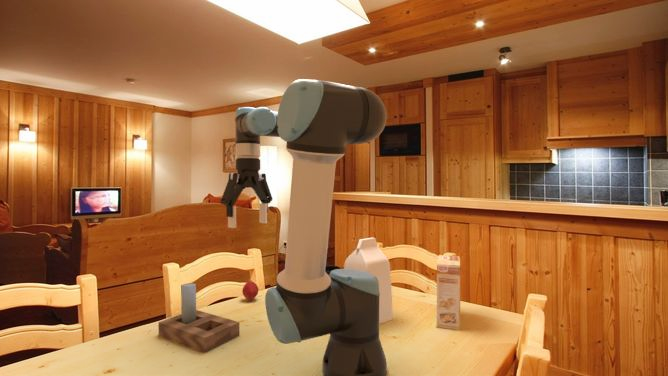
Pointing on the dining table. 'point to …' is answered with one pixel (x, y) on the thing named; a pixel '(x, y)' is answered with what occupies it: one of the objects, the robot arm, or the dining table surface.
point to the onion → (250, 290)
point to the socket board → (199, 331)
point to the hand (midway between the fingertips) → (248, 225)
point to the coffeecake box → (448, 292)
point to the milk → (374, 272)
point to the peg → (188, 303)
